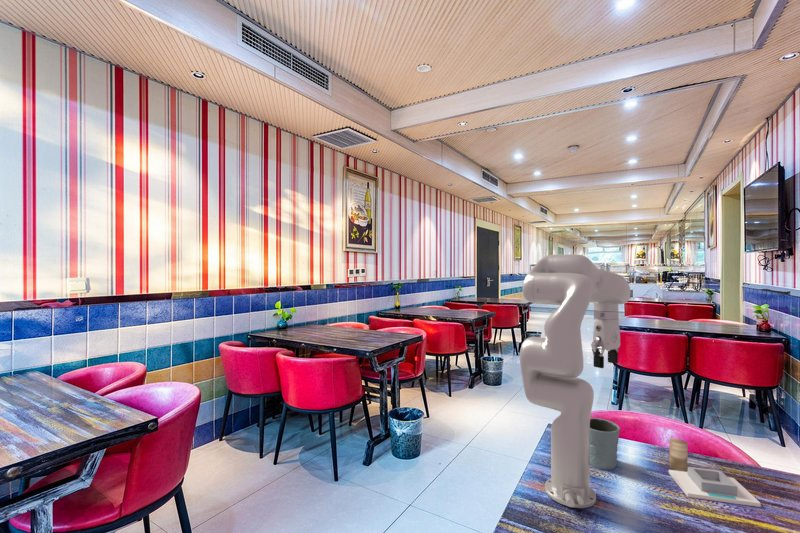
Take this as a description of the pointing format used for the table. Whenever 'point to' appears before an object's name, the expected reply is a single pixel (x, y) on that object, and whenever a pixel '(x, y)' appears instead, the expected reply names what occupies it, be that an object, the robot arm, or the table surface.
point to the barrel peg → (678, 454)
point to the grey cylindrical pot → (603, 443)
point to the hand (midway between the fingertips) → (605, 365)
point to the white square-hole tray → (712, 486)
